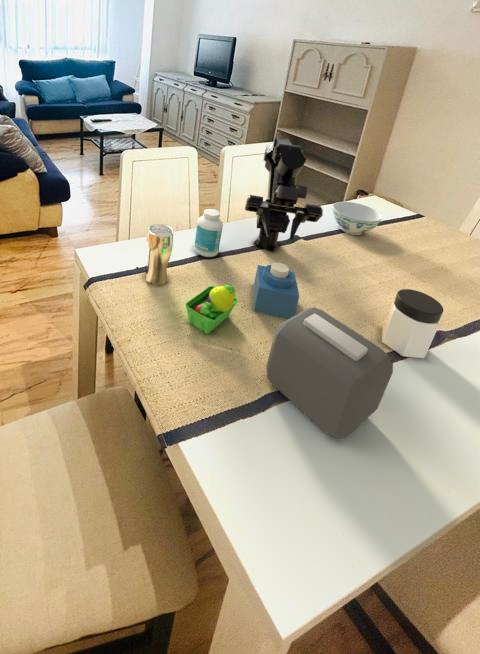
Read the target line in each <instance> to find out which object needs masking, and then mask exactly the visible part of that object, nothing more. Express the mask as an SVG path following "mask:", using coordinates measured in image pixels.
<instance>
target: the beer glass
mask: <svg viewBox="0 0 480 654" xmlns="http://www.w3.org/2000/svg"><path fill="white" fill-rule="evenodd" d="M173 247H174V229H173V228H172V227H171V226H169V225H167V224H164V223H163V224H162V223H154V224H151V225H149V227H148V228H147V234H146V240H145V254H146V263H147V264H146V265H147V266H146V271H145V274H144V280H145V281H146V282H148V284H150V285H153V286H162V285H165V284H166V283H167V282H168V265H169V262H170V260H171V259H170V258H171V256H172V253H173Z"/></svg>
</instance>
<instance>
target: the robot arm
mask: <svg viewBox="0 0 480 654" xmlns="http://www.w3.org/2000/svg"><path fill="white" fill-rule="evenodd" d="M306 161H307V157H306V155H305V153H304V150H302V146H301V145H296V144H292V140H291V139H290V138H288V137H280V136H276V137H274V139H273V141H272V142H270V143H269V144H267V145H266V148H265V151H264V153H263V162H264V168H265V169H266V170H267V171H268V185H267V197H266V199H265V200H264V196H261V195H259V196H258V195H253V194H249V195H248V196H247V198H246V201H245V205H244V206H245V207H244V211H246V212H253V213H255V215H256V216H257V217H256V223H255V224H256V229H259V233H258V237H257V239H255V241H253V242H252V243H253V245H254V246H256V247H259V248H262V249H263V250H266V251H269V252H274V251H276V249H277V248H278V247H279V246H280V245H281V243H280V242H278V239H279V234H280V233H282V234H285V233H286V232H287V231H288V228H289V226H290V223H291V228H290V234H289V241H290V242H293V240H294V238H295V236H296V233H297V231H298V229H299V227H300V225H301V224H304V223H306V222H312V223H317V222H318V221H319V220H320V219H321V218H322V217H323V215H324V213H323V212H324V209H323V207H322V206H321V205H316V204H309V203H306V204H305V205H304V206H303V207H301V206H295V205H297V203H298V201H299V199H302V200H305V199H307V193H308V186H305V185H298V186H297V177H298V176H299V174H300V172H301V171H302V169H303V167H304V165H305V163H306ZM289 214H294V217H293V219H292V222H291V219H290V216H289Z"/></svg>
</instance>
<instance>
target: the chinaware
mask: <svg viewBox="0 0 480 654" xmlns="http://www.w3.org/2000/svg"><path fill="white" fill-rule="evenodd" d="M332 215H333V218H334V220H335V222H336V223H337V224H338V226H339V227H340V230H341V231H342V232H344V233H346V234H349V235H352V236H361V235H362V234H363V233H366V232H369V231H371V230H374V229H375V228H376V227H377V226H378V225H379V224H380V223H381V221H382V219H383V215H382V214H381V213H380V212H379V211H378V210H376V209H374V208H373V207H370V206H368V205H364V204H361V203H358V202H352V201H337V202H334V203H333V204H332Z"/></svg>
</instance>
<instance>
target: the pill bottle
mask: <svg viewBox="0 0 480 654" xmlns="http://www.w3.org/2000/svg"><path fill="white" fill-rule="evenodd" d="M220 217H221V213H220V212H219V210H217V209H214V208H213V209H212V208H207V209H204V210H203V214H202V215H201V216H199V217H198V219H197V223H196V231H195V238H194V245H193V249H194V251H195V253H196V254H197V255H199V256H201V257H204V258H205V257H206V258H214V257H216V256H217V255H218V254H219V251H220V246H221V245H220V244H221V239H222V233H223V229H224V228H223V227H224V222H223V221H222V220H221V218H220Z"/></svg>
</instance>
